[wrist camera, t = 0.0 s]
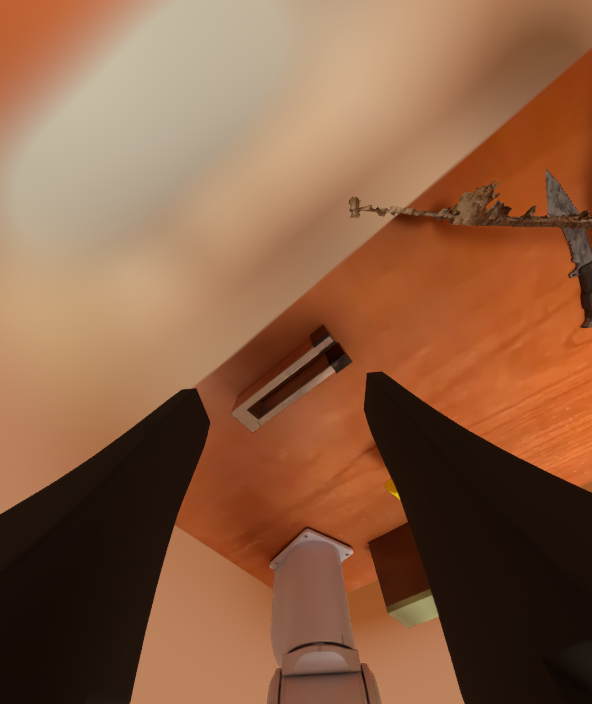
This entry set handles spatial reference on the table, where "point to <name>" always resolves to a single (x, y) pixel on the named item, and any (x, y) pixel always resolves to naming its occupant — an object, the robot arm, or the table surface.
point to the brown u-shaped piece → (259, 413)
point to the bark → (484, 213)
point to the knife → (573, 243)
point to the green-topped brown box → (403, 577)
